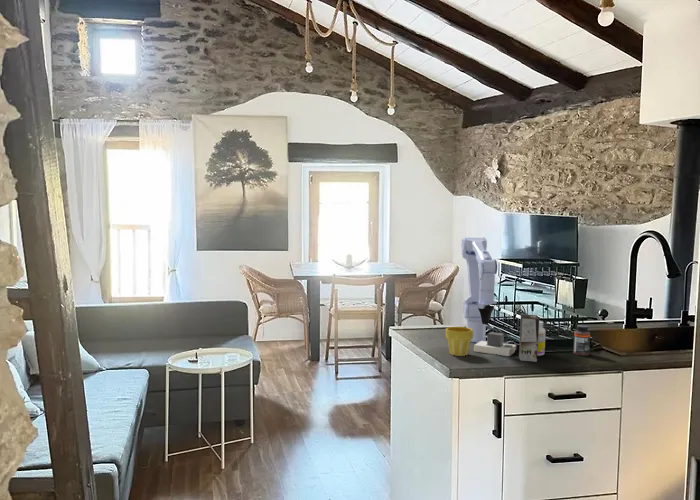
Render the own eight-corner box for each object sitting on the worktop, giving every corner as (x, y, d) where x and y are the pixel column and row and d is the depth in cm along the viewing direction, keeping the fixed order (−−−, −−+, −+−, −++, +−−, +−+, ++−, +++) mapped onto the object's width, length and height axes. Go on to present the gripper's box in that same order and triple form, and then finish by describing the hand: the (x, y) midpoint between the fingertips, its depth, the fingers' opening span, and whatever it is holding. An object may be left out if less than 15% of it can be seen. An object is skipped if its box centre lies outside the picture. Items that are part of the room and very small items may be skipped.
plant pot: (442, 351, 260) (442, 326, 259) (467, 351, 261) (468, 326, 260) (448, 357, 250) (449, 331, 249) (475, 357, 251) (476, 332, 250)
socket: (481, 346, 270) (481, 338, 269) (515, 351, 263) (516, 343, 263) (473, 351, 261) (473, 343, 261) (508, 356, 254) (509, 348, 254)
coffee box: (537, 362, 246) (539, 319, 245) (519, 360, 248) (521, 318, 246) (535, 356, 255) (537, 314, 254) (518, 355, 257) (520, 313, 255)
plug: (490, 348, 265) (491, 331, 264) (503, 349, 262) (503, 333, 262) (486, 350, 261) (487, 333, 261) (499, 352, 259) (500, 335, 258)
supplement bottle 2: (577, 351, 265) (579, 323, 264) (592, 354, 260) (593, 326, 259) (570, 354, 260) (571, 325, 260) (584, 356, 256) (586, 327, 255)
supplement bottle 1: (524, 351, 262) (525, 319, 261) (541, 352, 262) (542, 319, 261) (529, 356, 255) (531, 323, 254) (547, 356, 256) (548, 323, 254)
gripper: (491, 293, 254) (490, 328, 255) (501, 288, 266) (500, 322, 268) (473, 291, 257) (472, 326, 258) (484, 287, 270) (483, 320, 271)
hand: (485, 324), depth 263 cm, fingers closed
